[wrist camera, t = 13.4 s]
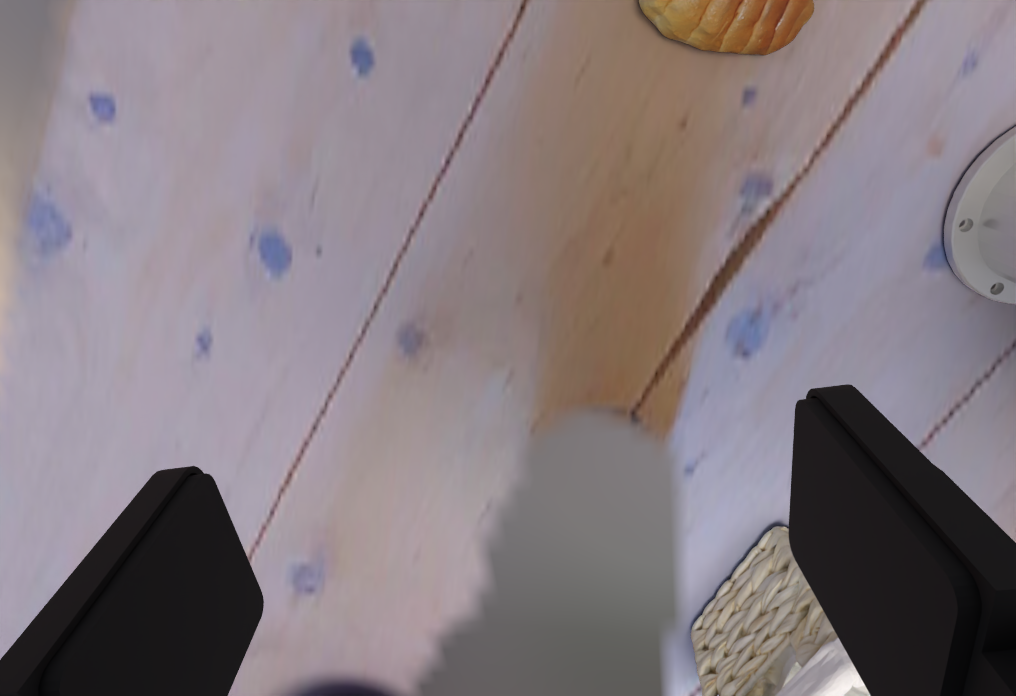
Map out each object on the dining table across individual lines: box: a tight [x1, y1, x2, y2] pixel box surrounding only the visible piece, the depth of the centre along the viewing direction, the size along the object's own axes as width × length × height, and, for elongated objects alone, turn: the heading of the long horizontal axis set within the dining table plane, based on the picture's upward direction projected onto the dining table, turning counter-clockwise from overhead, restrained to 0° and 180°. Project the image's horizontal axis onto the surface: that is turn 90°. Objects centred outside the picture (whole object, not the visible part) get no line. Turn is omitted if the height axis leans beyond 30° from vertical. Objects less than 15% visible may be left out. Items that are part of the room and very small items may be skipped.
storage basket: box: [691, 527, 871, 696], centre depth 51 cm, size 24×16×15 cm
